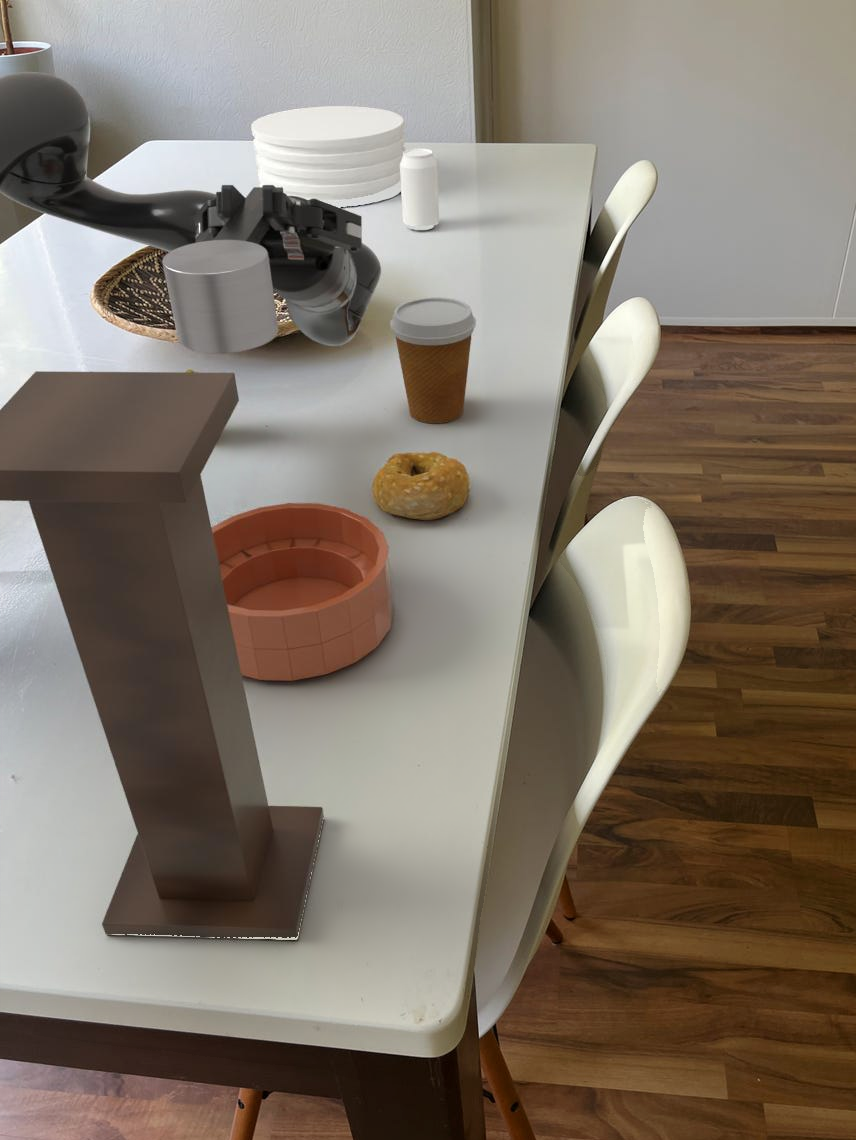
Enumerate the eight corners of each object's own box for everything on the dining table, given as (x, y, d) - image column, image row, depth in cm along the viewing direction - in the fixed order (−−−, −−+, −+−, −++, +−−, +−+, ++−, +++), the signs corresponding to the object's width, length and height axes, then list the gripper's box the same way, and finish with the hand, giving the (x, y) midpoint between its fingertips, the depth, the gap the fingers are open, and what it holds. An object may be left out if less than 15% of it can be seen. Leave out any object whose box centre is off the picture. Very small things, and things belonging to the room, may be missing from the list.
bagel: (474, 473, 108) (473, 432, 105) (466, 529, 99) (465, 486, 96) (381, 471, 109) (377, 430, 106) (365, 526, 100) (361, 484, 97)
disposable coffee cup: (442, 438, 114) (439, 334, 107) (379, 415, 119) (371, 314, 112) (493, 407, 120) (493, 307, 113) (431, 387, 125) (426, 289, 117)
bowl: (174, 684, 82) (156, 614, 77) (224, 567, 95) (211, 501, 90) (381, 688, 81) (374, 618, 77) (402, 569, 94) (397, 504, 90)
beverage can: (438, 232, 173) (435, 156, 166) (401, 233, 173) (397, 156, 166) (440, 221, 178) (437, 147, 170) (404, 222, 178) (400, 147, 171)
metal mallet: (166, 354, 64) (148, 273, 61) (235, 252, 79) (224, 184, 76) (267, 354, 63) (255, 273, 60) (318, 253, 78) (310, 184, 75)
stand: (105, 936, 63) (-79, 469, 43) (153, 814, 71) (15, 370, 51) (298, 941, 63) (202, 472, 42) (324, 818, 70) (254, 372, 50)
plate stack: (355, 161, 211) (350, 99, 204) (436, 189, 194) (433, 123, 187) (234, 185, 198) (224, 120, 191) (308, 218, 180) (300, 148, 173)
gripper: (382, 301, 87) (347, 257, 70) (221, 301, 88) (148, 257, 71) (381, 209, 86) (346, 141, 69) (219, 209, 87) (144, 142, 70)
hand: (246, 200), depth 70 cm, fingers closed on metal mallet
